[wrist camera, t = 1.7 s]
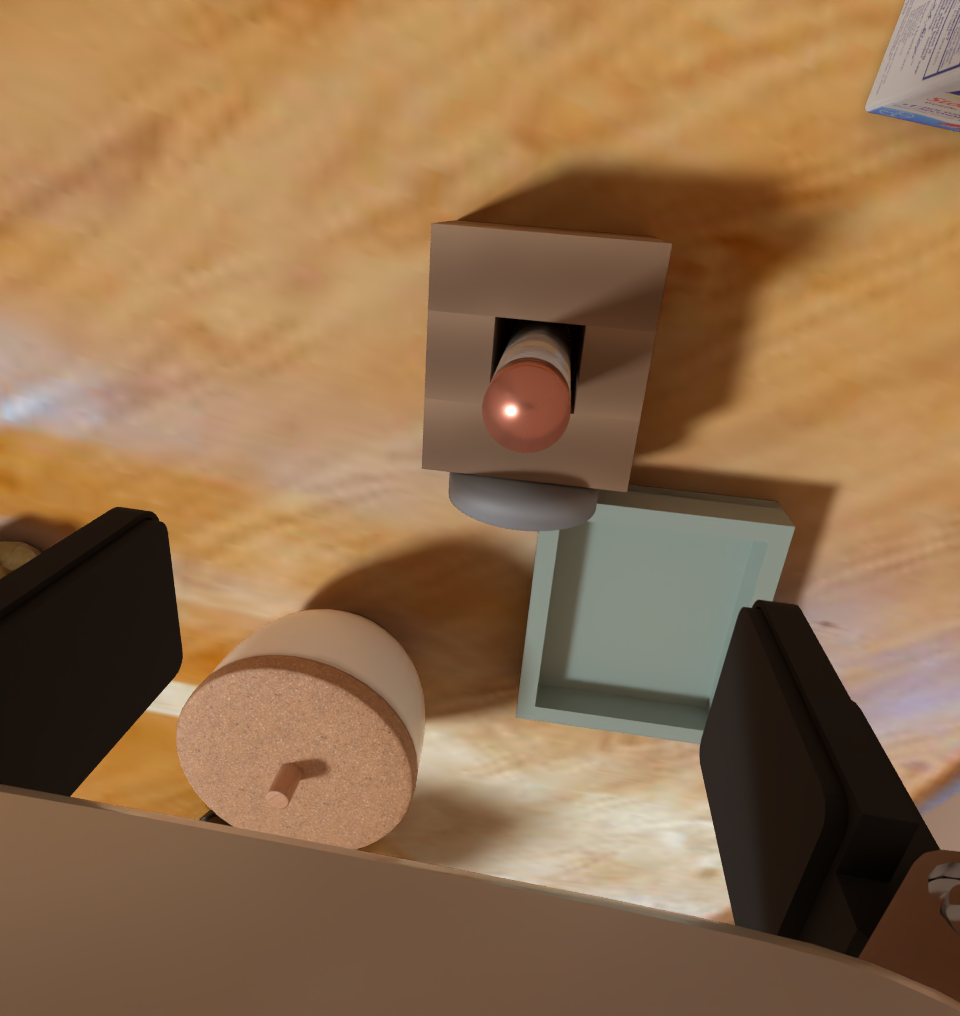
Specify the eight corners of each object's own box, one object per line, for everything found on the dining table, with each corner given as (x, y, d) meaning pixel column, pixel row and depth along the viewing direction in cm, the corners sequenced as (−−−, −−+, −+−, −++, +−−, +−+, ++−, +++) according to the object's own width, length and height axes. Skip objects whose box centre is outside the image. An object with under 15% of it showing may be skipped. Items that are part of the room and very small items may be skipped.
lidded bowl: (486, 676, 41) (459, 827, 31) (350, 763, 46) (288, 919, 36) (342, 533, 38) (261, 649, 28) (212, 642, 43) (103, 774, 33)
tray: (545, 475, 35) (543, 497, 32) (777, 501, 34) (795, 526, 31) (519, 683, 41) (515, 717, 38) (716, 711, 40) (727, 748, 37)
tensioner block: (456, 220, 30) (423, 224, 24) (653, 236, 30) (678, 245, 23) (442, 468, 36) (413, 529, 29) (610, 487, 35) (620, 555, 28)
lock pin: (515, 307, 32) (485, 362, 20) (574, 312, 32) (576, 371, 20) (510, 365, 33) (478, 448, 22) (566, 370, 33) (564, 457, 21)
